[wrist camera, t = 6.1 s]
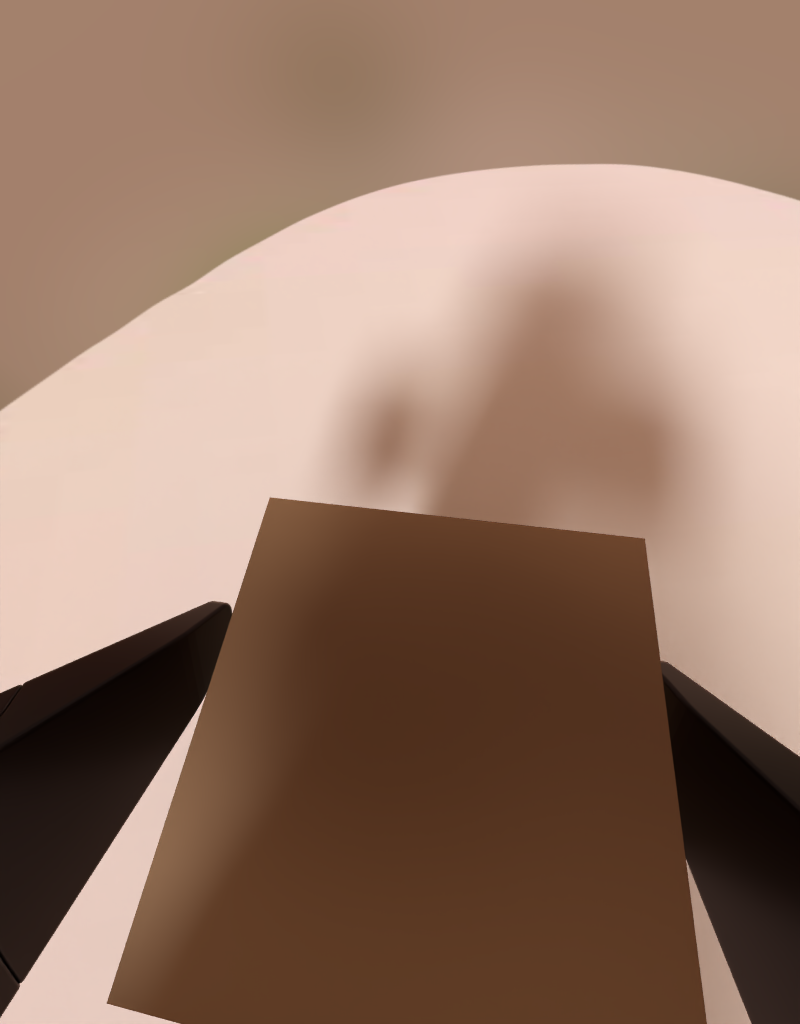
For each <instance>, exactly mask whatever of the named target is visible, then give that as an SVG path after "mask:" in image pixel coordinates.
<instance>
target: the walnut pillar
mask: <svg viewBox="0 0 800 1024" xmlns="http://www.w3.org/2000/svg"><path fill="white" fill-rule="evenodd" d="M107 1004H111V1005H114V1006H118V1007H122V1008H125V1009H129V1010H133V1011H136V1012H140V1013H144V1014H147V1015H151V1016H155V1017H158V1018H162V1019H165V1020H169V1021H173V1022H176V1023H180V1024H707V1022H706V1014H705V1006H704V998H703V991H702V983H701V975H700V967H699V959H698V952H697V944H696V936H695V928H694V920H693V912H692V905H691V897H690V889H689V881H688V873H687V866H686V858H685V850H684V842H683V834H682V827H681V819H680V811H679V803H678V795H677V787H676V780H675V772H674V764H673V756H672V748H671V741H670V733H669V725H668V717H667V709H666V701H665V694H664V686H663V678H662V670H661V662H660V655H659V647H658V639H657V631H656V623H655V615H654V608H653V600H652V592H651V584H650V576H649V569H648V561H647V553H646V545H645V539H642V538H633V537H624V536H615V535H606V534H597V533H588V532H579V531H569V530H560V529H551V528H542V527H533V526H524V525H515V524H506V523H497V522H488V521H478V520H469V519H460V518H451V517H442V516H433V515H424V514H415V513H406V512H397V511H388V510H378V509H369V508H360V507H351V506H342V505H333V504H324V503H315V502H306V501H297V500H287V499H278V498H270V499H269V502H268V505H267V508H266V511H265V514H264V517H263V520H262V524H261V527H260V530H259V533H258V536H257V539H256V542H255V545H254V548H253V551H252V555H251V558H250V561H249V564H248V567H247V570H246V573H245V576H244V579H243V582H242V586H241V589H240V592H239V595H238V598H237V601H236V604H235V607H234V610H233V613H232V617H231V620H230V623H229V626H228V629H227V632H226V635H225V638H224V641H223V644H222V648H221V651H220V654H219V657H218V660H217V663H216V666H215V669H214V672H213V675H212V679H211V682H210V685H209V688H208V691H207V694H206V697H205V700H204V703H203V706H202V710H201V713H200V716H199V719H198V722H197V725H196V728H195V731H194V734H193V737H192V741H191V744H190V747H189V750H188V753H187V756H186V759H185V762H184V765H183V768H182V772H181V775H180V778H179V781H178V784H177V787H176V790H175V793H174V796H173V799H172V803H171V806H170V809H169V812H168V815H167V818H166V821H165V824H164V827H163V830H162V834H161V837H160V840H159V843H158V846H157V849H156V852H155V855H154V858H153V861H152V865H151V868H150V871H149V874H148V877H147V880H146V883H145V886H144V889H143V892H142V896H141V899H140V902H139V905H138V908H137V911H136V914H135V917H134V920H133V924H132V927H131V930H130V933H129V936H128V939H127V942H126V945H125V948H124V951H123V955H122V958H121V961H120V964H119V967H118V970H117V973H116V976H115V979H114V982H113V986H112V989H111V992H110V995H109V998H108V1001H107Z"/></svg>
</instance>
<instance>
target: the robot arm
mask: <svg viewBox="0 0 800 1024" xmlns="http://www.w3.org/2000/svg"><path fill="white" fill-rule="evenodd" d="M231 617H232V609H231V606H230V605H229V604H228V603H224V602H217V601H211V602H208V603H206V604H203V605H201V606H199V607H197V608H194V609H192V610H190V611H187V612H185V613H183V614H181V615H178V616H176V617H174V618H171V619H169V620H167V621H165V622H162V623H160V624H158V625H155V626H153V627H151V628H148V629H146V630H144V631H142V632H139V633H137V634H135V635H132V636H130V637H128V638H126V639H123V640H121V641H119V642H116V643H114V644H112V645H110V646H107V647H105V648H103V649H100V650H98V651H96V652H94V653H91V654H89V655H87V656H84V657H82V658H80V659H78V660H75V661H73V662H71V663H68V664H66V665H64V666H62V667H59V668H57V669H55V670H52V671H50V672H48V673H46V674H43V675H41V676H39V677H36V678H34V679H32V680H29V681H27V682H25V683H24V684H23V686H22V685H18V686H15V687H13V688H11V689H9V690H6V691H4V692H2V693H0V1017H1V1016H2V1014H3V1013H4V1011H5V1010H6V1008H7V1006H8V1005H9V1003H10V1002H11V1000H12V999H13V997H14V996H15V994H16V992H17V991H18V989H19V987H20V984H19V983H22V982H23V981H24V979H25V978H26V976H27V975H28V973H29V971H30V970H31V968H32V967H33V965H34V964H35V962H36V961H37V959H38V957H39V956H40V954H41V953H42V951H43V950H44V948H45V946H46V945H47V943H48V942H49V940H50V939H51V937H52V936H53V934H54V932H55V931H56V929H57V928H58V926H59V925H60V923H61V922H62V920H63V918H64V917H65V915H66V914H67V912H68V911H69V909H70V907H71V906H72V904H73V903H74V901H75V900H76V898H77V897H78V895H79V893H80V892H81V890H82V889H83V887H84V886H85V884H86V883H87V881H88V879H89V878H90V876H91V875H92V873H93V872H94V870H95V868H96V867H97V865H98V864H99V862H100V861H101V859H102V858H103V856H104V854H105V853H106V851H107V850H108V848H109V847H110V845H111V843H112V842H113V840H114V839H115V837H116V836H117V834H118V833H119V831H120V829H121V828H122V826H123V825H124V823H125V822H126V820H127V819H128V817H129V815H130V814H131V812H132V811H133V809H134V808H135V806H136V804H137V803H138V801H139V800H140V798H141V797H142V795H143V794H144V792H145V790H146V789H147V787H148V786H149V784H150V783H151V781H152V780H153V778H154V776H155V775H156V773H157V772H158V770H159V769H160V767H161V765H162V764H163V762H164V761H165V759H166V758H167V756H168V755H169V753H170V751H171V750H172V748H173V747H174V745H175V744H176V742H177V741H178V739H179V737H180V736H181V734H182V733H183V731H184V730H185V728H186V726H187V725H188V723H189V722H190V720H191V719H192V717H193V716H194V714H195V712H196V711H197V709H198V707H199V706H200V704H201V702H202V701H203V699H204V697H205V695H206V693H207V691H208V688H209V685H210V682H211V679H212V675H213V672H214V669H215V666H216V663H217V660H218V657H219V654H220V651H221V648H222V644H223V641H224V638H225V635H226V632H227V629H228V626H229V623H230V620H231ZM660 662H661V670H662V678H663V686H664V694H665V701H666V709H667V717H668V725H669V733H670V741H671V748H672V756H673V764H674V772H675V780H676V787H677V795H678V803H679V811H680V819H681V827H682V834H683V842H684V850H685V858H686V860H687V863H688V865H689V868H690V870H691V873H692V875H693V878H694V880H695V883H696V885H697V888H698V890H699V893H700V895H701V898H702V900H703V903H704V905H705V908H706V910H707V913H708V915H709V918H710V920H711V923H712V925H713V928H714V930H715V933H716V935H717V938H718V941H719V943H720V946H721V948H722V951H723V953H724V956H725V958H726V961H727V963H728V966H729V968H730V971H731V973H732V976H733V978H734V981H735V983H736V986H737V988H738V991H739V993H740V996H741V998H742V1001H743V1003H744V1006H745V1008H746V1011H747V1013H748V1016H749V1018H750V1021H751V1023H752V1024H800V757H799V756H798V755H797V754H795V753H794V752H792V751H791V750H790V749H788V748H787V747H785V746H784V745H783V744H781V743H780V742H778V741H777V740H776V739H774V738H773V737H771V736H770V735H769V734H767V733H766V732H764V731H763V730H762V729H760V728H759V727H757V726H756V725H755V724H753V723H752V722H750V721H749V720H748V719H746V718H745V717H743V716H742V715H740V714H739V713H738V712H736V711H735V710H733V709H732V708H731V707H729V706H728V705H726V704H725V703H724V702H722V701H721V700H719V699H718V698H717V697H715V696H714V695H712V694H711V693H710V692H708V691H707V690H705V689H704V688H703V687H701V686H700V685H698V684H697V683H696V682H694V681H693V680H691V679H690V678H689V677H687V676H686V675H684V674H683V673H682V672H680V671H679V670H677V669H676V668H675V667H673V666H672V665H670V664H669V663H667V662H665V661H660Z"/></svg>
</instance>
